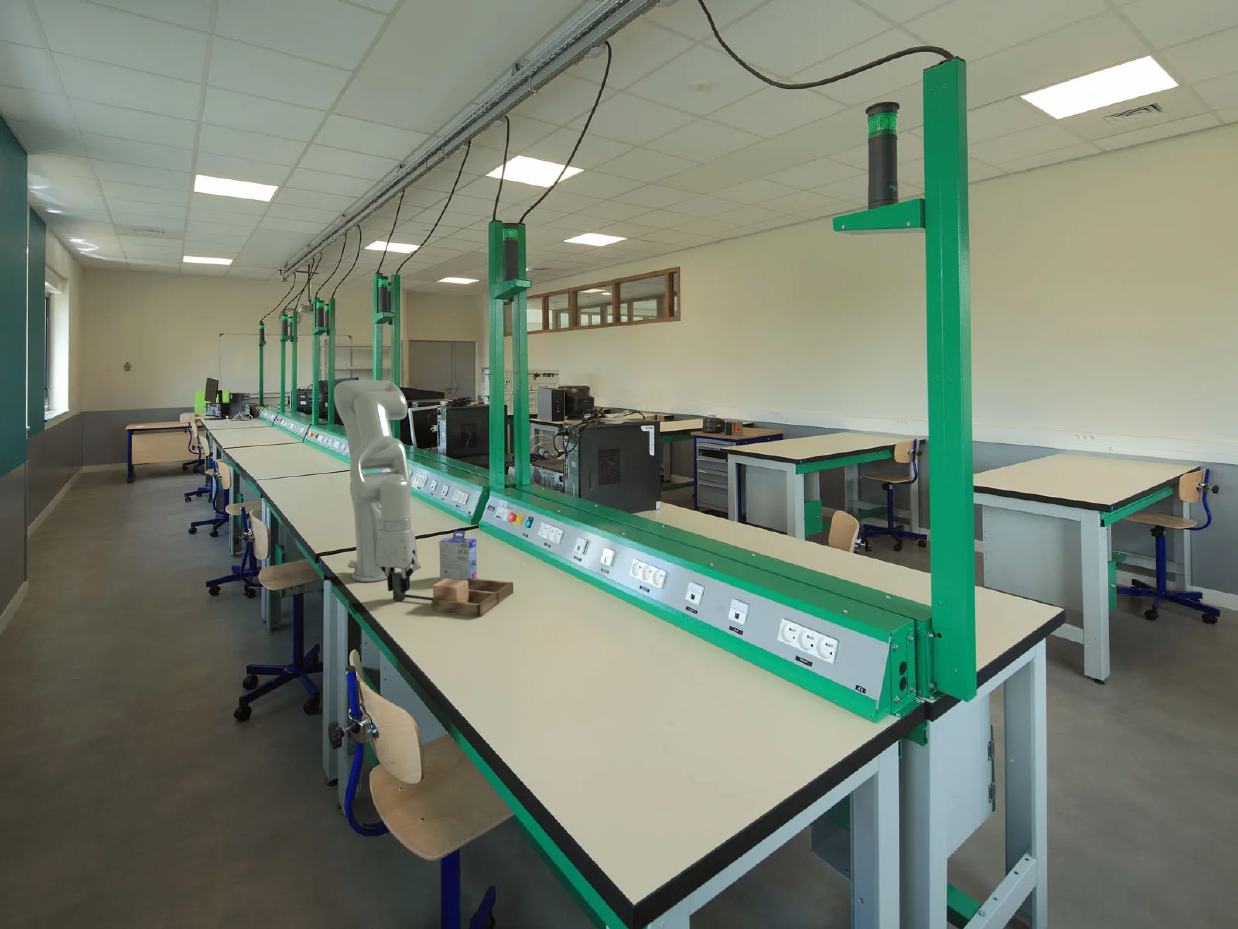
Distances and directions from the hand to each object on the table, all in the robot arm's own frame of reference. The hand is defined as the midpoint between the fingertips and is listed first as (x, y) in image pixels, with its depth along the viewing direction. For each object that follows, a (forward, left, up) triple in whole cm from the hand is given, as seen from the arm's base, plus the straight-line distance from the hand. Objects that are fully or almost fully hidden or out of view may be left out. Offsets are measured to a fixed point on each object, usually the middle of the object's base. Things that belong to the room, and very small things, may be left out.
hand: (399, 589), depth 170 cm
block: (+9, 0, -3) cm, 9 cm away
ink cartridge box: (+6, +20, -3) cm, 22 cm away
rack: (+20, +4, -3) cm, 21 cm away
